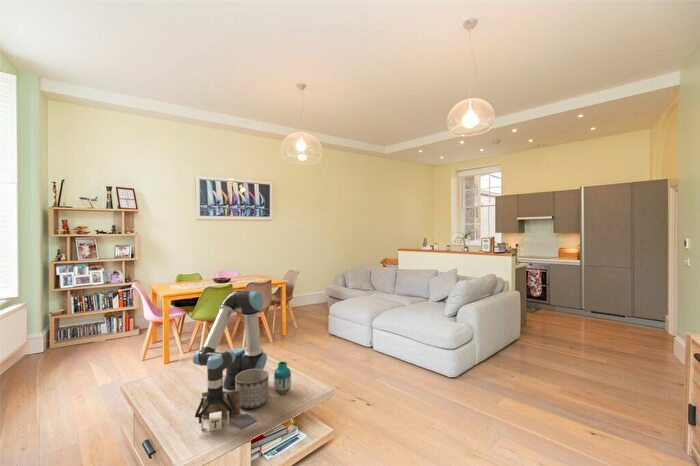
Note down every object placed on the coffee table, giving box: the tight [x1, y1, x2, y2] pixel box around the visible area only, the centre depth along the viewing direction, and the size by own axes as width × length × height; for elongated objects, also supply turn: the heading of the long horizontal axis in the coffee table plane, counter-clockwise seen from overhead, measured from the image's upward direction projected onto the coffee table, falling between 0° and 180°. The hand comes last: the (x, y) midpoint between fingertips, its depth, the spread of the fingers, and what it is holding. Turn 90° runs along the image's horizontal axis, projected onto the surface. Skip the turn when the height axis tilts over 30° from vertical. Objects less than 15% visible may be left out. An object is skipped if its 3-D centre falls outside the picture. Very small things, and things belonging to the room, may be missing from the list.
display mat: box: [230, 413, 258, 430], centre depth 178 cm, size 10×10×1 cm
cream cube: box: [208, 411, 223, 432], centre depth 174 cm, size 6×6×6 cm
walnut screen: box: [201, 390, 241, 420], centre depth 185 cm, size 20×6×13 cm, turn 97°
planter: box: [235, 369, 270, 409], centre depth 197 cm, size 19×19×16 cm
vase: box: [273, 360, 292, 395], centre depth 209 cm, size 11×11×19 cm
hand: (215, 426), depth 174 cm, fingers open, 12 cm apart
